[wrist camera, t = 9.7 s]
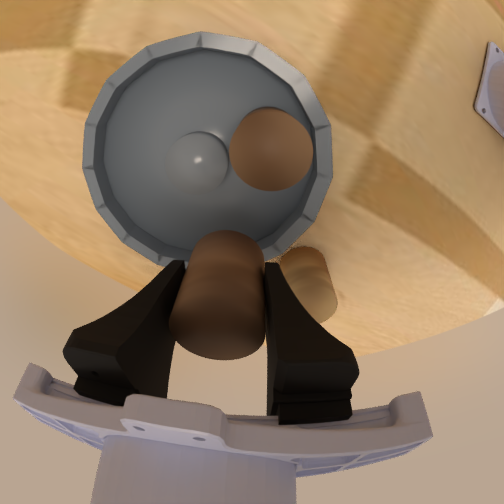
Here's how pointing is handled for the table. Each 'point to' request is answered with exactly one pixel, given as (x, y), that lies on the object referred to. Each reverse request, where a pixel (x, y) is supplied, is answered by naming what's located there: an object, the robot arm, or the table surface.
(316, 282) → the bead
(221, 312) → the bead
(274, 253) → the tray
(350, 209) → the table surface
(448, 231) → the table surface
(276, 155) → the bead
